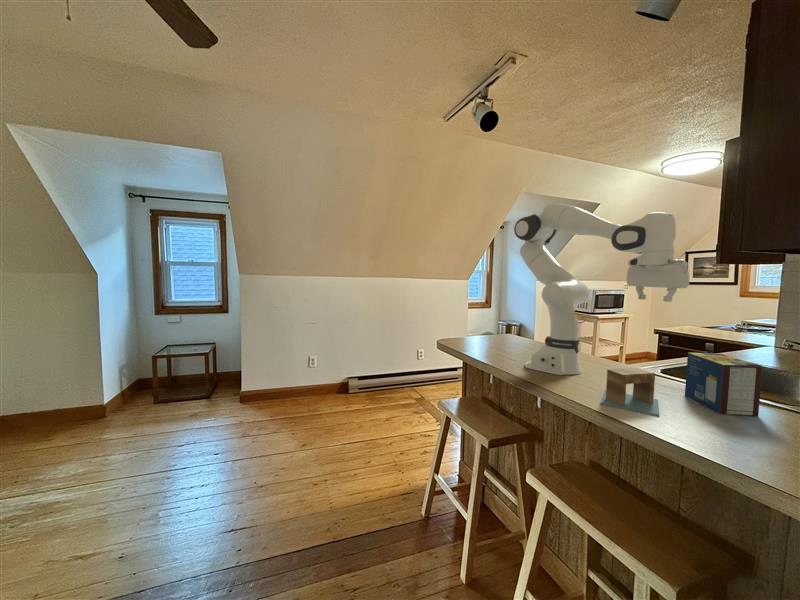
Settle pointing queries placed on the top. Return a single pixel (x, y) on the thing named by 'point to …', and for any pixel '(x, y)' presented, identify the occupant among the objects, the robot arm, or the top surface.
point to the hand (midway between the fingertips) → (654, 300)
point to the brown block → (636, 376)
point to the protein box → (724, 383)
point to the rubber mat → (634, 405)
